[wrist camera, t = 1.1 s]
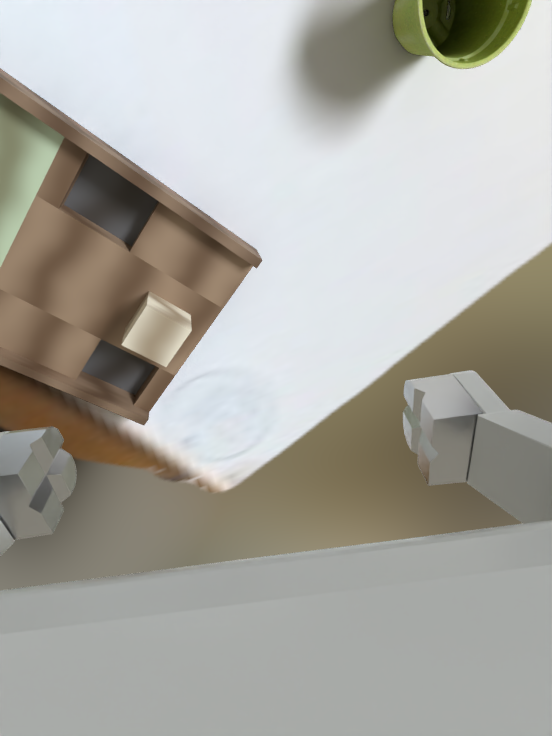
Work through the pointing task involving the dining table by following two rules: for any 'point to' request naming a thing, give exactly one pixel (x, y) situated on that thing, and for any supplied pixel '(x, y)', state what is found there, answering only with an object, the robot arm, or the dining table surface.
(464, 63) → the plant pot
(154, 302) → the cream block
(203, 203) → the dining table surface
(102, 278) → the box
